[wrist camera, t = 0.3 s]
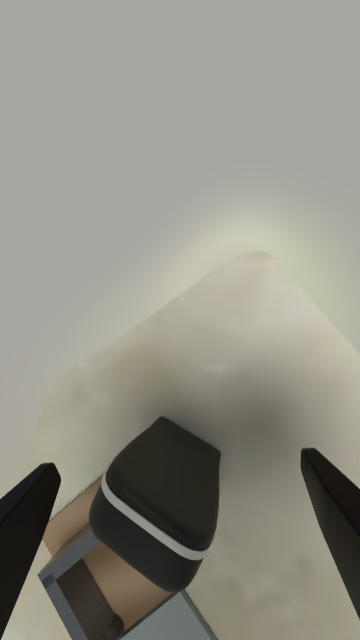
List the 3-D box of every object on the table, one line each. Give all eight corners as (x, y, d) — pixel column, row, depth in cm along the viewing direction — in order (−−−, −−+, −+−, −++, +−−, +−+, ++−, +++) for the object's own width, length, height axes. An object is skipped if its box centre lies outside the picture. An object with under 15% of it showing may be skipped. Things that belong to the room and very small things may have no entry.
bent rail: (184, 584, 21) (176, 626, 17) (113, 641, 21) (92, 692, 18) (121, 490, 23) (104, 512, 19) (57, 545, 23) (31, 575, 20)
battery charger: (141, 447, 24) (64, 534, 13) (159, 412, 24) (97, 468, 13) (206, 490, 22) (182, 633, 11) (224, 452, 22) (219, 556, 11)
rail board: (190, 569, 22) (188, 580, 21) (108, 635, 22) (103, 648, 21) (117, 462, 24) (112, 467, 23) (46, 524, 25) (38, 531, 24)
